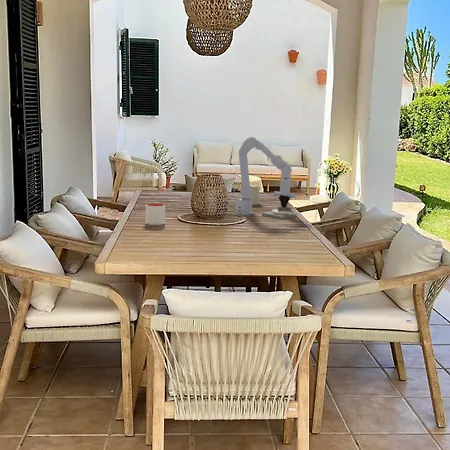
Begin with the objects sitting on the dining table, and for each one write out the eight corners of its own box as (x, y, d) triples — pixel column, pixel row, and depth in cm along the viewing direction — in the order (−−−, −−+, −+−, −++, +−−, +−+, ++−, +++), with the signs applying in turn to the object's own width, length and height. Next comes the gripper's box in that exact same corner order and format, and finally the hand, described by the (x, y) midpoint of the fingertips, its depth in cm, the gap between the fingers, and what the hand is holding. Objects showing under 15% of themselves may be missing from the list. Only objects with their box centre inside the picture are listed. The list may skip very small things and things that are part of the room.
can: (259, 205, 386) (260, 186, 383) (244, 204, 386) (245, 185, 384) (258, 202, 395) (259, 184, 393) (244, 202, 395) (245, 183, 393)
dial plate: (281, 219, 339) (281, 216, 339) (262, 215, 348) (262, 212, 348) (296, 216, 349) (296, 213, 349) (277, 213, 358) (277, 210, 358)
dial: (272, 214, 344) (272, 208, 343) (270, 211, 353) (271, 205, 352) (291, 215, 344) (292, 208, 343) (289, 212, 353) (290, 206, 352)
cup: (141, 224, 309) (141, 205, 307) (152, 221, 318) (153, 202, 316) (157, 226, 305) (158, 207, 303) (168, 223, 313) (169, 204, 311)
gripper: (299, 186, 346) (298, 209, 348) (279, 183, 355) (278, 206, 358) (292, 187, 341) (290, 211, 343) (272, 184, 350) (270, 207, 353)
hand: (283, 208), depth 350 cm, fingers closed
